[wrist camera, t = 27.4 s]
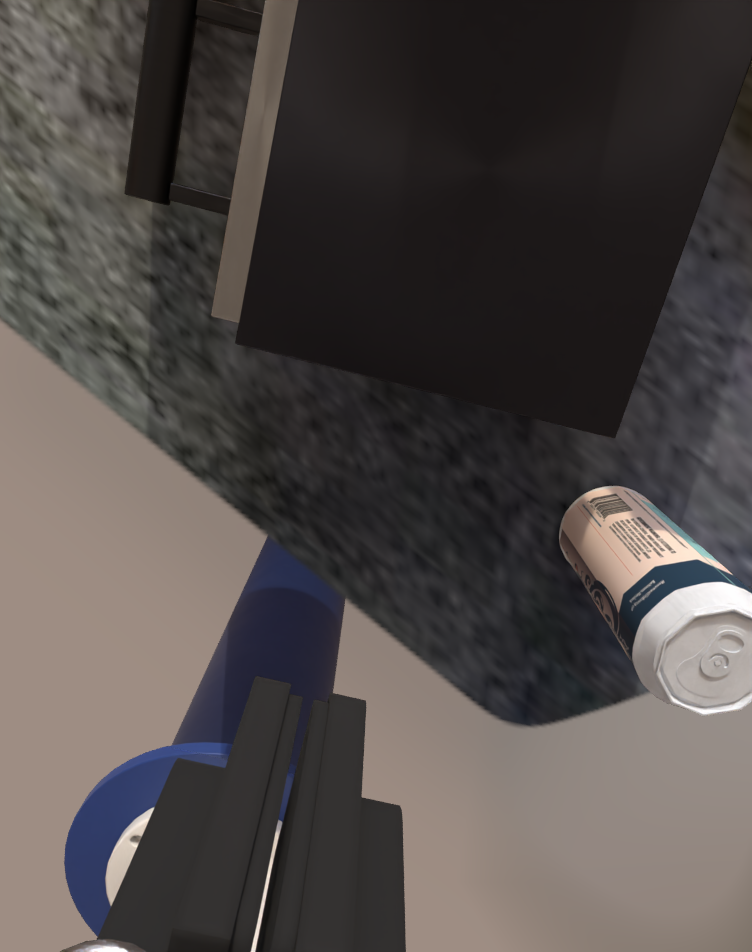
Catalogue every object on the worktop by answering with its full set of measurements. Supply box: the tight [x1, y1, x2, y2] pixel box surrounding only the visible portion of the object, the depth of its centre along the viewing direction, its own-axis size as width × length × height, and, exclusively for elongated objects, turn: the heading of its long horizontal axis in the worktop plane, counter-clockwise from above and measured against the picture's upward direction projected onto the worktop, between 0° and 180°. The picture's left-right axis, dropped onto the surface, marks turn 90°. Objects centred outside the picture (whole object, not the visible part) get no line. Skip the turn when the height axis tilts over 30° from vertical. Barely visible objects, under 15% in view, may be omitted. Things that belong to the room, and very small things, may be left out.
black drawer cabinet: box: [235, 0, 752, 438], centre depth 25 cm, size 14×15×8 cm
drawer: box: [125, 0, 298, 323], centre depth 25 cm, size 17×14×6 cm
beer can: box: [559, 486, 752, 716], centre depth 28 cm, size 5×5×12 cm
